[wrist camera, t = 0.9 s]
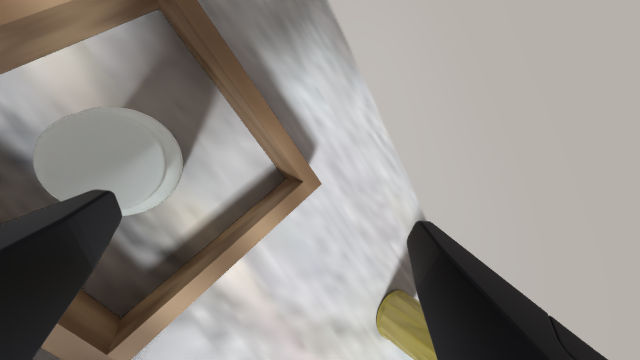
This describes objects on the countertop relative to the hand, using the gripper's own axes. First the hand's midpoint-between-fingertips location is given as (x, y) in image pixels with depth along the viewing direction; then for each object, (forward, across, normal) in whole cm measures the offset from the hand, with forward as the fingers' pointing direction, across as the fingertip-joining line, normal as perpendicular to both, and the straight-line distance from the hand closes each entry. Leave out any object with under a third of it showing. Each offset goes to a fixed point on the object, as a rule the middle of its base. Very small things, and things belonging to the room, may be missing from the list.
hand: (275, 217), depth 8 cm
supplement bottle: (+10, +11, +6) cm, 16 cm away
